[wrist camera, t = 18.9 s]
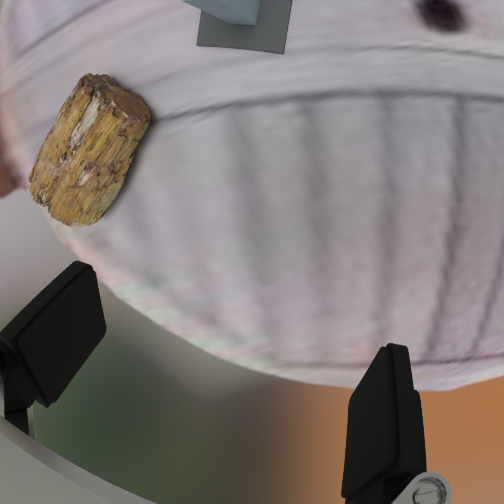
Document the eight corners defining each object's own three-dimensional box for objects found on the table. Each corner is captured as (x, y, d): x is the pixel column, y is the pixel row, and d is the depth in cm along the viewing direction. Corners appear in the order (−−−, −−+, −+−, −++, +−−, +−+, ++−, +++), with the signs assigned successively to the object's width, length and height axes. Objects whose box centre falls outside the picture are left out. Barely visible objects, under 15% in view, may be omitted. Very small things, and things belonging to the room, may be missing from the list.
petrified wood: (107, 61, 34) (68, 72, 26) (179, 115, 39) (156, 139, 31) (49, 163, 43) (14, 193, 35) (109, 209, 48) (82, 246, 40)
